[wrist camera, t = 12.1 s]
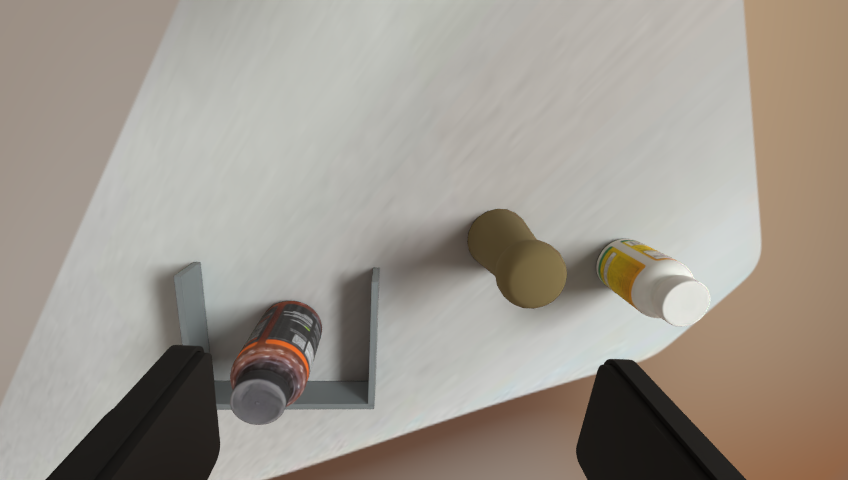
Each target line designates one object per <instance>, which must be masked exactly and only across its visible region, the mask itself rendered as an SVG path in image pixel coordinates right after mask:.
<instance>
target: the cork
mask: <svg viewBox="0 0 848 480" xmlns="http://www.w3.org/2000/svg"><path fill="white" fill-rule="evenodd" d="M467 242H468V247H469V251H470V253H471V255H472V256H473V258H474V259H475V260H476V261H478V262H479V263H480V264H481V265H482V266H484V267H485V268H486V269H487V270H488V271H490V272H491V273H492V274H493V275H495V277H496V282H497V286H498V288H499V289H500V291H501V293H502V294H503V296H504V297H505V298H506V299H507V300H509V301H510V302H511V303H513V304H514V305H517V306H519V307H522V308H533V309H534V308H538V307H542V306H545V305H547V304H549V303H551V302H552V301H554V300H555V299H556V298H557V297H558V296H559V295H560V293H561V291H562V290H563V288H564V286H565V282H566V277H567V271H566V265H565V263H564V261H563V259H562V257H561V255H560V253H559V252H558V251H557V250H556V249H554V248H553V247H552V246H551V245H549V244H547V243H545V242H542V241H540V240H537V239H536V238H535V236H534V235H533V234H532V232H531V231H530V229H529V228H528V226H527V225H526V224H525V222H524V221H523V219H522V218H521V217H519V216H518V215H517V214H516V213H514V212H512V211H509V210H507V209H495V210H491V211H487V212H486V213H484V214H482V215H481V216H479V217H478V218H477V219H476V221H475V222H474V223H473V224H472V226H471V228H470V230H469V233H468V241H467Z"/></svg>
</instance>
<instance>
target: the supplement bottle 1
mask: <svg viewBox="0 0 848 480" xmlns="http://www.w3.org/2000/svg"><path fill="white" fill-rule="evenodd" d="M321 333H322V324H321V320H320V318H319V316H318V315H317V313H316V312H315V311H314V310H313V309H312V308H311V307H309V306H308V305H306V304H303V303H301V302H297V301H285V302H281V303H277V304H275V305H274V306H272V307H271V308H270V309H268V310H267V311H266V313H265V314H264V315H263V317H262V318H261V320H260V321H259V323H258V325H257V326H256V328H255V329H254V331H253V333H252V334H251V336H250V337H249V339H248V341H247V342H246V344H245V345H244V347H243V349H242V350H241V352H240V354H239V355H238V357H237V358H236V360H235V362H234V364H233V366H232V369H231V374H230V382H231V386H232V389H233V391H232V393H231V396H230V406H231V409H232V411H233V413H234V414H235V415H236V416H237V417H238V418H239V419H241V420H242V421H244V422H247V423H249V424H255V425H263V424H268V423H271V422H273V421H275V420H277V419H278V418H279V417H280V416H281V415H282V414H283V412H284V410H285V408H286V407H288V406H289V405H291V404H293V403H294V402H295V401H296V400H297V399H298V398H299V397H300V396H301V394H302V393H303V391H304V389H305V387H306V384H307V380H308V377H309V374H310V371H311V367H312V364H313V361H314V357H315V354H316V351H317V348H318V345H319V341H320V338H321Z"/></svg>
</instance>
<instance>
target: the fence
mask: <svg viewBox="0 0 848 480" xmlns="http://www.w3.org/2000/svg"><path fill="white" fill-rule="evenodd" d="M379 270H380V268H373V275H372V288H371V323H370V357H369V381H307V384H306V387H305V389H304V391H303V393H302V394H301V396H300V397H299V398H298V399H297V400H296V401H295V402H294V403H293V404H291V405H289V406H288V407H286V408H285V409H374V402H375V384H376V355H377V327H378V298H379ZM174 283H175V291H176V299H177V307H178V315H179V323H180V331H181V339H182V345H191V346H201V347H203V349H204V353H210V351H209V341H208V331H207V322H206V312H205V302H204V292H203V283H202V273H201V263H200V262H193V263H192V264H190V265H189V266H188V267H186V268H185V269H183V270H182V271H180V272H179V273H178V274H176V275H175V276H174ZM214 386H215V396H216V406H217V410H232V409H231V406H230V396H231V393H232V391H233V389H232V386H231V382H230V381H214Z"/></svg>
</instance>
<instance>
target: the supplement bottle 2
mask: <svg viewBox="0 0 848 480" xmlns="http://www.w3.org/2000/svg"><path fill="white" fill-rule="evenodd" d="M596 269H597V274H598V277H599V279H600V280H601V281H602V282H603V283H604V284H605V285H606V286H607V287H609V288H610V289H611V290H613V291H614V292H615V293H617V294H618V295H619V296H620V297H622V298H623V299H624V300H626V301H627V302H628V303H629V304H631V305H632V306H633V307H635V308H636V309H637V310H638V311H640V312H641V313H643V314H645V315H647V316H649V317H653V318H662V319H663V320H665V321H666V322H668V323H669V324H671V325H674V326H680V327H682V326H688V325H691V324H693V323H695V322H697V321H698V320H699V319H701V318H702V317H703V316H704V314H705V313H706V311H707V310H708V308H709V304H710V293H709V291H708V289H707V287H706V286H705V285H703V284H702V283H700V282H699V281H697V280H695V279H694V277H693V275H692V273H691V271H690V270H689V269H688V268H687V267H686V266H685V265H684V264H682V263H680V262H678V261H677V260H675V259H673V258H671V257H669V256H667V255H665V254H663V253H660V252H658V251H656V250H654V249H652V248H650V247H648V246H646V245H644V244H642V243H640V242H638V241H636V240H632V239H620V240H616V241H614V242H612V243H610V244H609V245H608V246H606V247H605V248H604V250H603V251H602V252H601V254H600V256H599V258H598V260H597V265H596Z"/></svg>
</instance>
